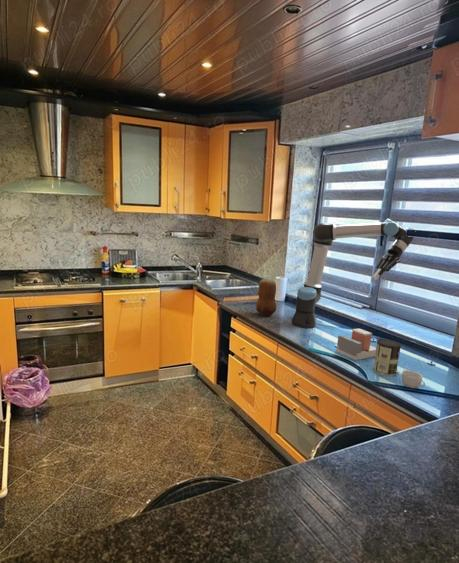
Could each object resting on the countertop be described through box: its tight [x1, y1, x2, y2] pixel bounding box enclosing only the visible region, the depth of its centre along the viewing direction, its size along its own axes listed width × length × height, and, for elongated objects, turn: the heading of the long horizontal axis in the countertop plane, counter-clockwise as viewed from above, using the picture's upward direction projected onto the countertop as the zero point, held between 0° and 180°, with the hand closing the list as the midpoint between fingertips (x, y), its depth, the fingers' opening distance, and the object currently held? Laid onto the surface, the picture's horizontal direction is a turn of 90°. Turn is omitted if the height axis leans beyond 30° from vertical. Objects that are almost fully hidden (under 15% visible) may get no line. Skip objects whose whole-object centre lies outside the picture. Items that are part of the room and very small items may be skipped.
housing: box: [336, 334, 376, 361], centre depth 197 cm, size 22×13×8 cm, turn 121°
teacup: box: [401, 369, 426, 389], centre depth 160 cm, size 10×8×5 cm
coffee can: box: [372, 338, 402, 377], centre depth 173 cm, size 10×10×14 cm
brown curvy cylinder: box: [255, 278, 277, 317], centre depth 255 cm, size 14×13×25 cm
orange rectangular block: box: [350, 328, 373, 351], centre depth 196 cm, size 5×8×10 cm, turn 31°
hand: (374, 278), depth 215 cm, fingers closed
